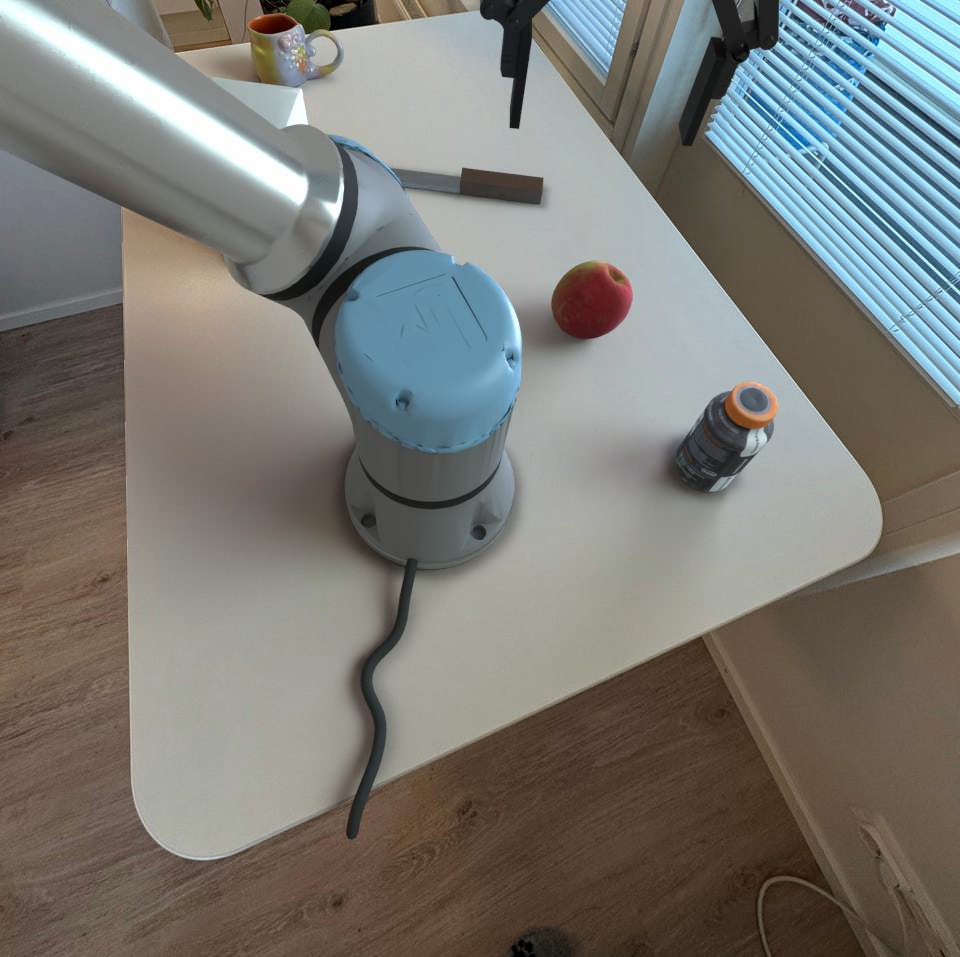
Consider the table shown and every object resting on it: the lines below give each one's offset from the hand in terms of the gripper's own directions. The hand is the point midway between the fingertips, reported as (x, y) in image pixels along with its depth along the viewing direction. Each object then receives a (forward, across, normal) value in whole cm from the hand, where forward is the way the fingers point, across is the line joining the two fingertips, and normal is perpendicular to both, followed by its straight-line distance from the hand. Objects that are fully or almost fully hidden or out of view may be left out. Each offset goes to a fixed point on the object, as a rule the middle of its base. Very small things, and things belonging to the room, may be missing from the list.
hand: (600, 127), depth 50 cm
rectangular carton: (+22, +31, -9) cm, 39 cm away
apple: (+22, -4, +1) cm, 22 cm away
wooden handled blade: (+22, +13, -20) cm, 33 cm away
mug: (+22, +33, -39) cm, 56 cm away
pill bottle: (+22, -15, +17) cm, 32 cm away
